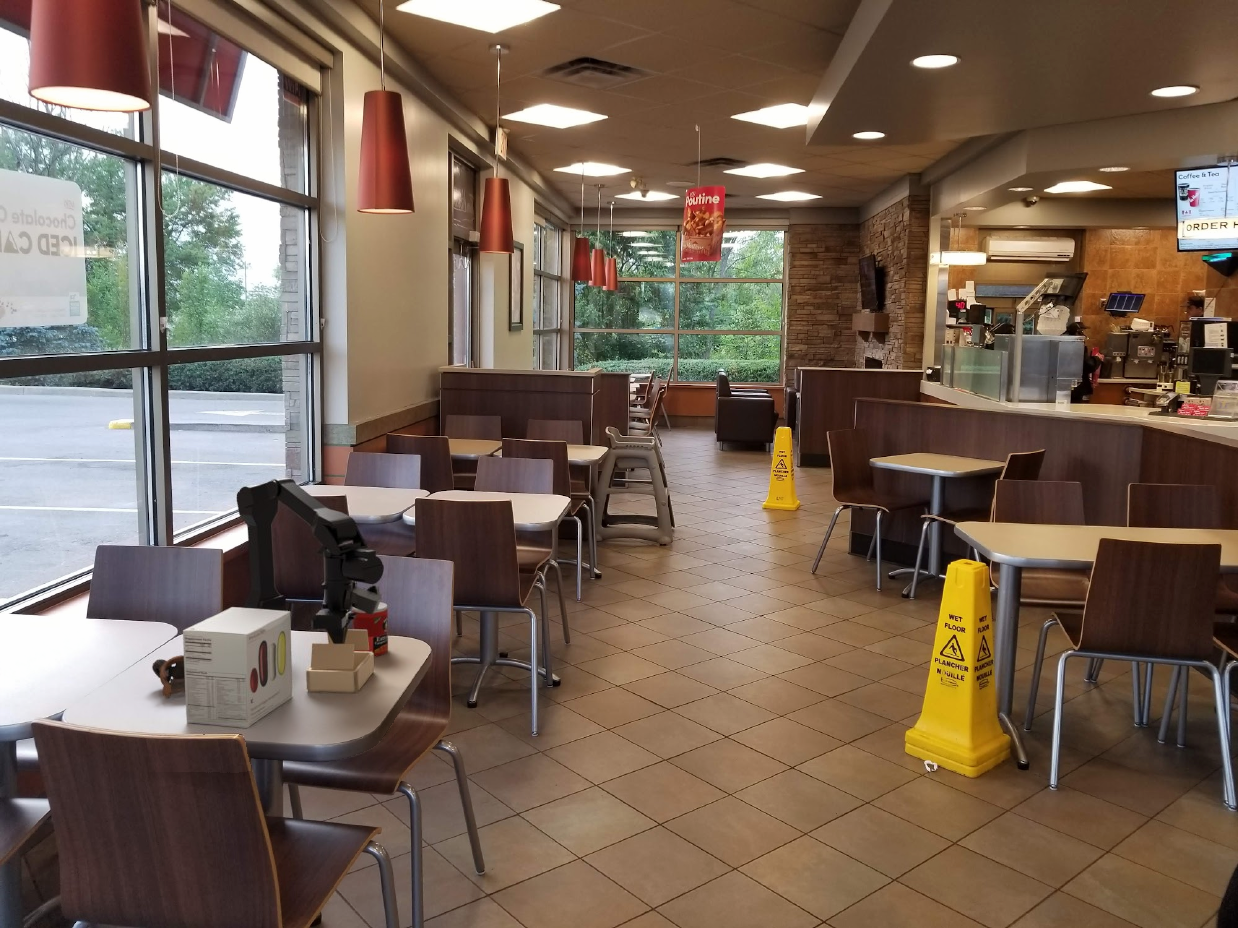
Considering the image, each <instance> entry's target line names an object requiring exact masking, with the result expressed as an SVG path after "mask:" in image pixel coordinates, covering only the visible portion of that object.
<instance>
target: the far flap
mask: <svg viewBox="0 0 1238 928" xmlns="http://www.w3.org/2000/svg"><path fill="white" fill-rule="evenodd" d="M326 633H327V644H334V643H333V642H332V640H331V638H330V636H329V634H328V632H327V631H326ZM345 644H354V650H369V643H368V633H367V630H354V629H353V628H351V629H349V628H348V631H347V635H346V640H345Z"/></svg>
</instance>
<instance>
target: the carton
mask: <svg viewBox="0 0 1238 928" xmlns="http://www.w3.org/2000/svg"><path fill="white" fill-rule="evenodd" d="M374 657H375V656H374V653H373V652H356V651H354V663H353V669H319V668H311V665H310V666H309V667H308V668H307V669H306V671H305V673H306V674H305V675H306V679H305V680H306V690H307V693H319V694H320V693H324V694H325V693H326V694H327V693H329V694H330V693H331V694H332V693H333V694H357V693H358V692H359V691H360V690H361V688H362V687H363V686H364V685H365V683H366V682H367V680H368V679H369V678H370V677H371V675H372V674H373V672H374V671H375V662H374V661H375V659H374ZM358 690H359V691H358Z"/></svg>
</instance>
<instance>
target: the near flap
mask: <svg viewBox="0 0 1238 928" xmlns="http://www.w3.org/2000/svg"><path fill="white" fill-rule="evenodd" d="M310 660H311V661H310V666H311V668H319V669H353V663H354V644H328V643H316V642H315V643H311V657H310Z"/></svg>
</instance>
